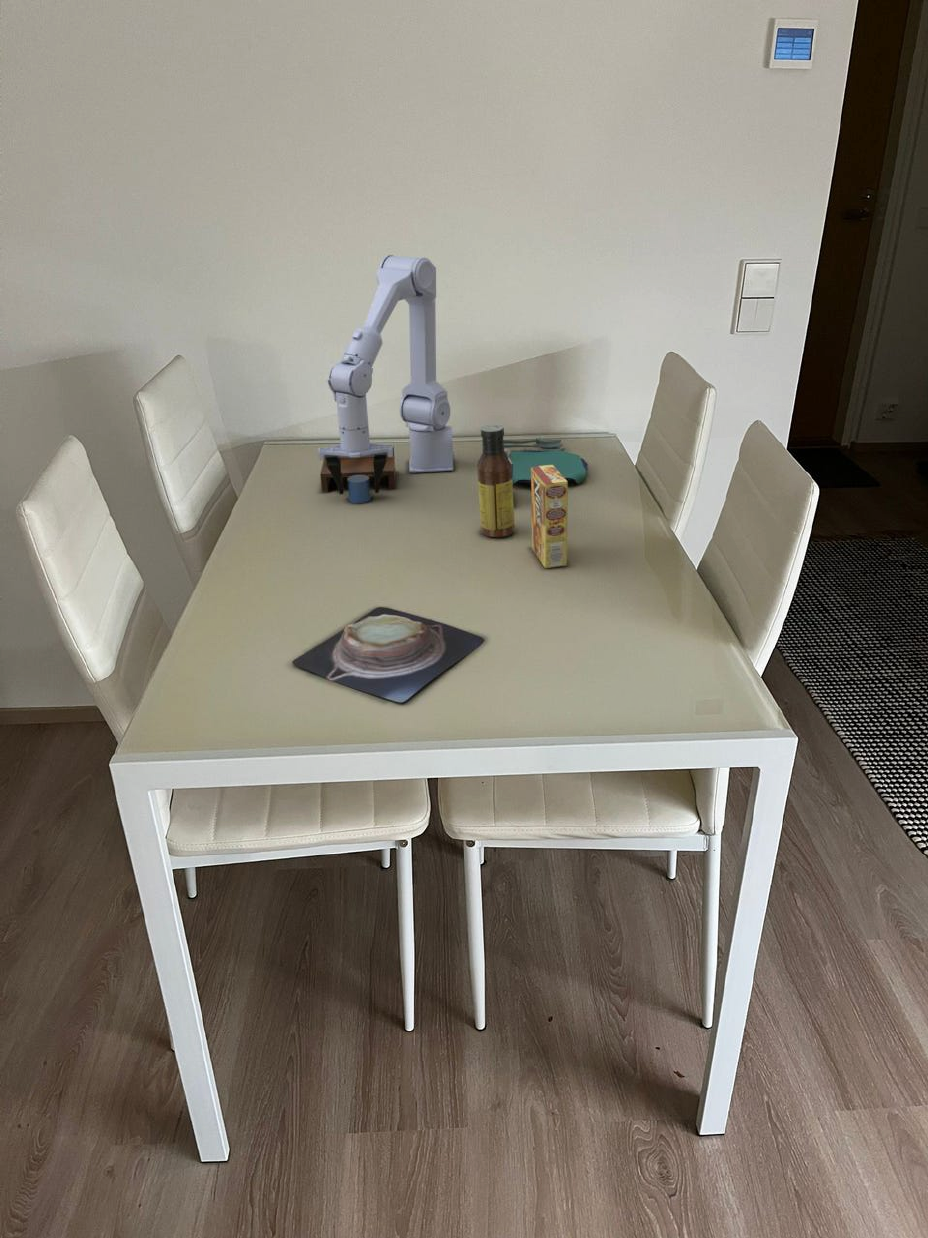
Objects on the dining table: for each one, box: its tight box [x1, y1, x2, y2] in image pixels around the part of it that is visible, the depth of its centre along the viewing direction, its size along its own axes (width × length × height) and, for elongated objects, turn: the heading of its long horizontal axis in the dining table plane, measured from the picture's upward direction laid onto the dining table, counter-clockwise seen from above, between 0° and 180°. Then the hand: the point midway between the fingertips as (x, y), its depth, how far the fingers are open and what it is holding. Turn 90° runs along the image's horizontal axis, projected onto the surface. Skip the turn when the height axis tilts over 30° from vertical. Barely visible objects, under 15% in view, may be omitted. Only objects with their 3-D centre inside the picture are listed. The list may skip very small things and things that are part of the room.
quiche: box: [291, 606, 485, 703], centre depth 139 cm, size 21×20×4 cm
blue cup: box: [346, 475, 372, 504], centre depth 193 cm, size 4×4×4 cm
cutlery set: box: [503, 437, 589, 485], centre depth 208 cm, size 20×30×2 cm, turn 1°
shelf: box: [319, 445, 397, 493], centre depth 201 cm, size 15×10×6 cm, turn 93°
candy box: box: [530, 465, 569, 569], centre depth 163 cm, size 9×4×15 cm, turn 12°
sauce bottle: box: [476, 424, 515, 538], centre depth 172 cm, size 7×6×20 cm
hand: (359, 491), depth 193 cm, fingers open, 6 cm apart
